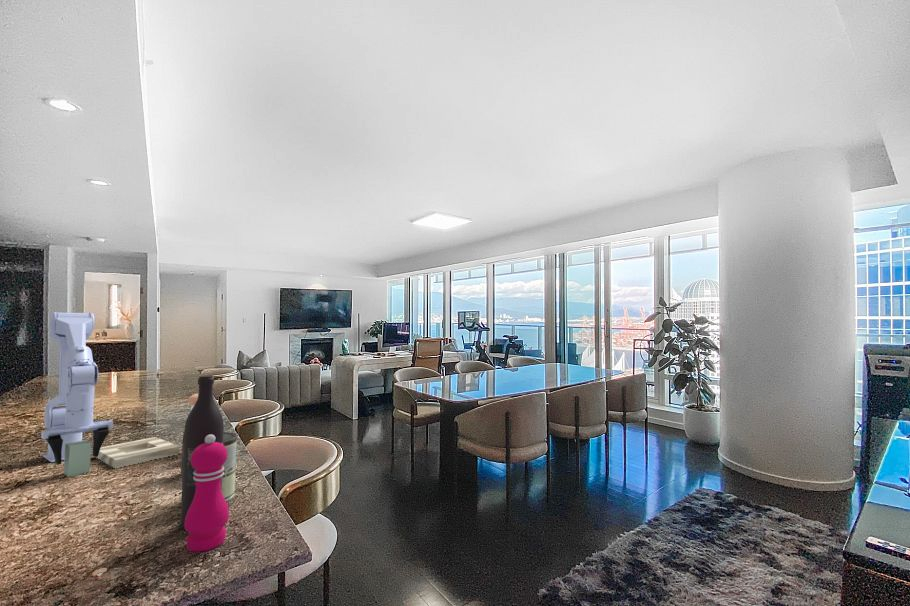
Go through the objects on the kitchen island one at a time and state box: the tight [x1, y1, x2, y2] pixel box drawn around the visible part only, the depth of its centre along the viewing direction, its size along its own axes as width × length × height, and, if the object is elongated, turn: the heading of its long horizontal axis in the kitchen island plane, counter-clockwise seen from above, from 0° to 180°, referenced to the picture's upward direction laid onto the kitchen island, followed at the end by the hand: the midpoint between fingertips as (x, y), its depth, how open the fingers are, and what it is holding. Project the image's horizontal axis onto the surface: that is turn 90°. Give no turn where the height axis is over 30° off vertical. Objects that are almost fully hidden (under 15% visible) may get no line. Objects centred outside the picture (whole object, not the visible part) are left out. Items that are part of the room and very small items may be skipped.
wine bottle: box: [180, 374, 225, 531], centre depth 85 cm, size 7×7×30 cm
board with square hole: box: [95, 436, 180, 470], centre depth 127 cm, size 18×16×2 cm
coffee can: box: [222, 431, 238, 503], centre depth 97 cm, size 10×10×14 cm
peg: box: [63, 439, 92, 478], centre depth 113 cm, size 4×4×8 cm
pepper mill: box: [184, 434, 230, 553], centre depth 78 cm, size 7×7×20 cm
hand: (77, 459), depth 113 cm, fingers open, 7 cm apart
